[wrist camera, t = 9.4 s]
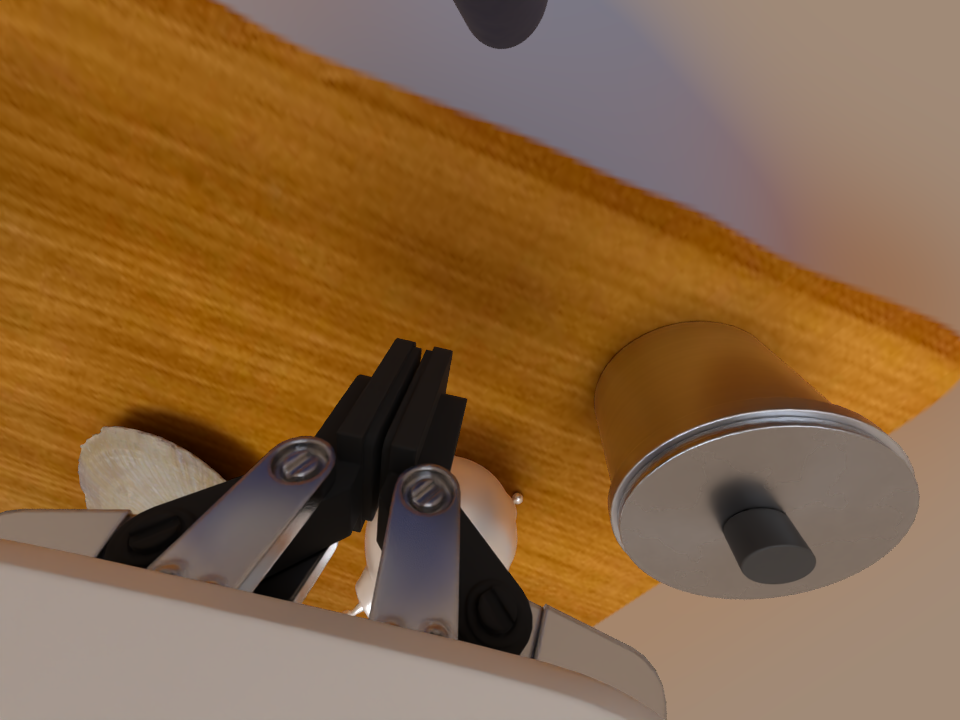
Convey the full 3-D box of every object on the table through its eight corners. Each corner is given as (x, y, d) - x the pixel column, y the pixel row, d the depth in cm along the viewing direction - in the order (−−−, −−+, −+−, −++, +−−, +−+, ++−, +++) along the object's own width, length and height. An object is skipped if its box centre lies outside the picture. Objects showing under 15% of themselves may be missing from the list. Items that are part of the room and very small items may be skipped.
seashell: (80, 386, 22) (20, 417, 19) (275, 442, 22) (241, 480, 19) (128, 509, 28) (87, 545, 25) (281, 552, 28) (255, 592, 25)
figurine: (393, 735, 20) (356, 697, 11) (342, 607, 25) (281, 494, 15) (533, 606, 26) (597, 500, 16) (471, 519, 30) (490, 391, 20)
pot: (622, 296, 15) (696, 421, 8) (828, 335, 15) (1081, 499, 8) (566, 444, 19) (584, 609, 12) (725, 477, 19) (833, 664, 12)
